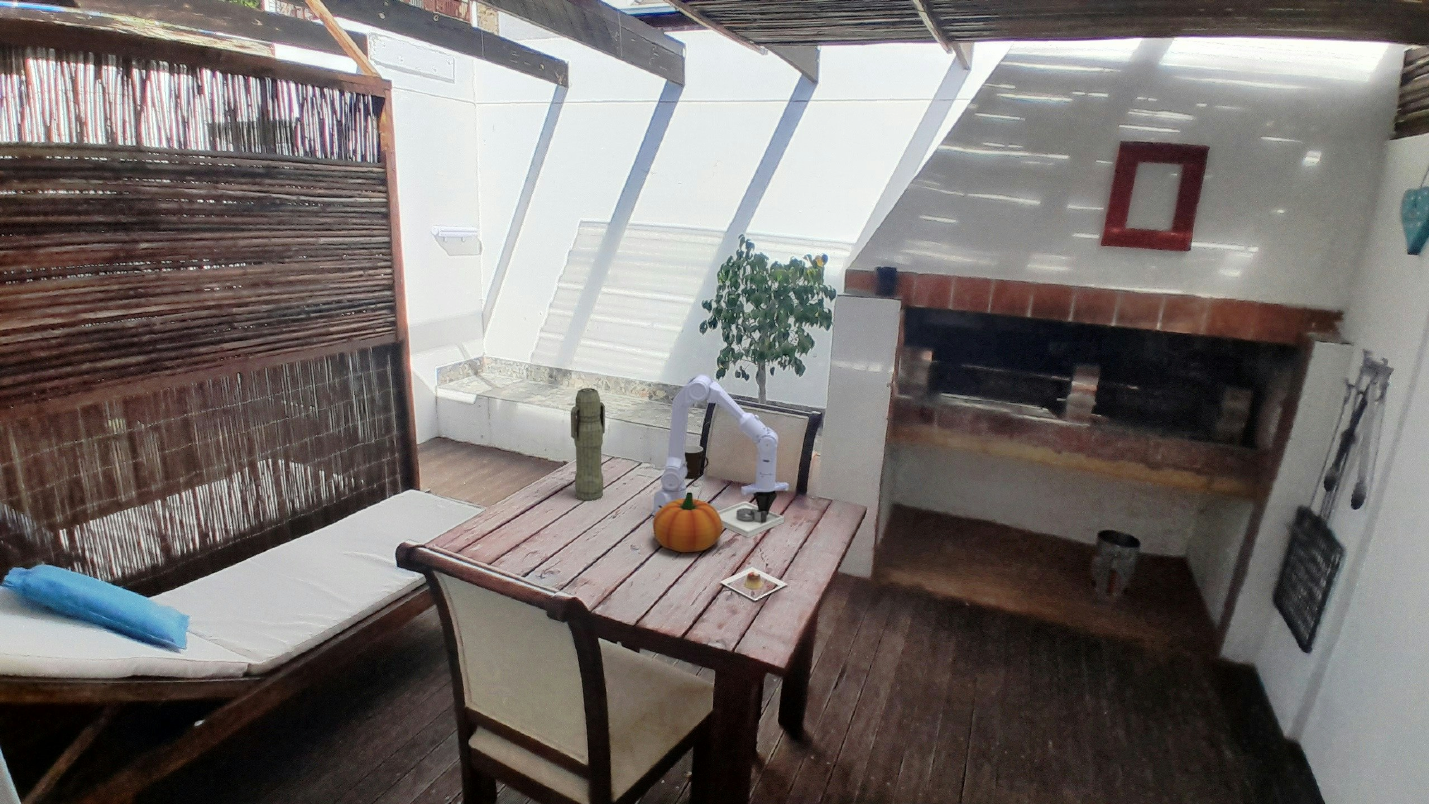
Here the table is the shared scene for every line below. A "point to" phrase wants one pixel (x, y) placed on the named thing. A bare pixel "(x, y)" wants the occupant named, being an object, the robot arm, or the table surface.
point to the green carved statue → (588, 443)
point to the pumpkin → (687, 525)
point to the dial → (751, 514)
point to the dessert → (753, 581)
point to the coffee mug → (693, 461)
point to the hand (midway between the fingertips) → (763, 514)
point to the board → (744, 526)
